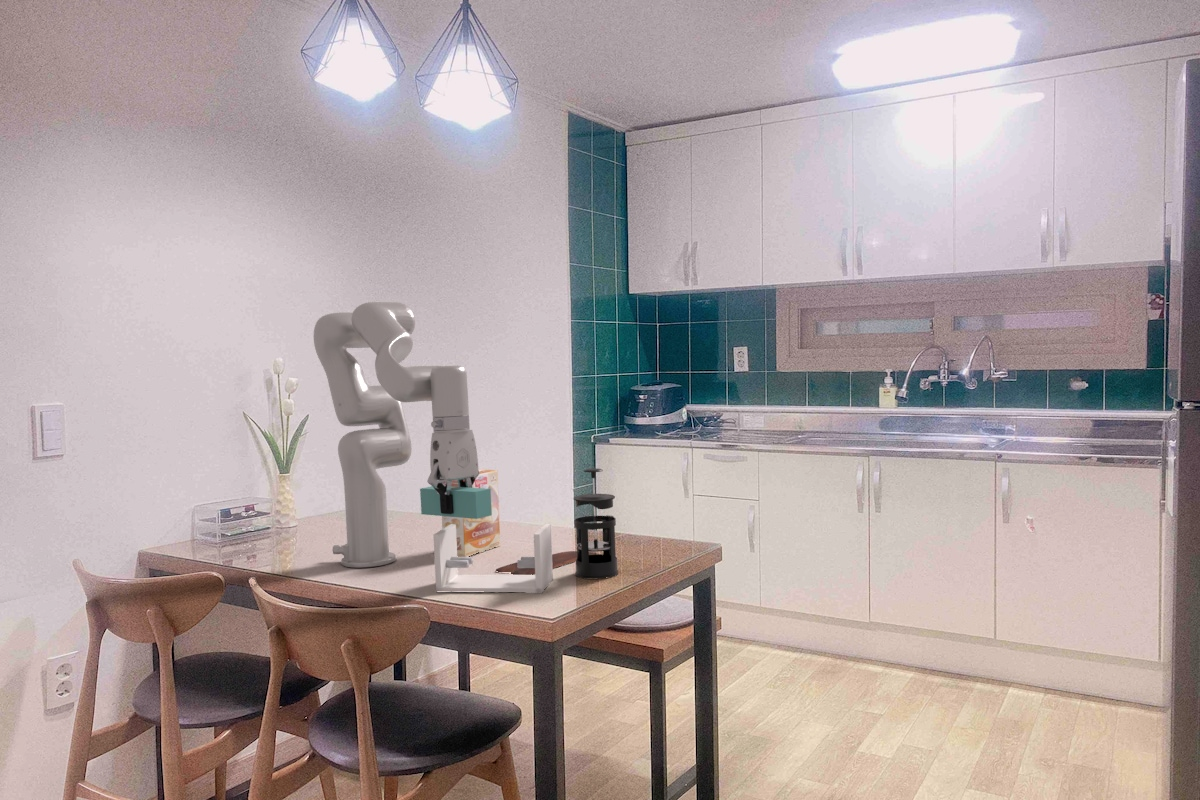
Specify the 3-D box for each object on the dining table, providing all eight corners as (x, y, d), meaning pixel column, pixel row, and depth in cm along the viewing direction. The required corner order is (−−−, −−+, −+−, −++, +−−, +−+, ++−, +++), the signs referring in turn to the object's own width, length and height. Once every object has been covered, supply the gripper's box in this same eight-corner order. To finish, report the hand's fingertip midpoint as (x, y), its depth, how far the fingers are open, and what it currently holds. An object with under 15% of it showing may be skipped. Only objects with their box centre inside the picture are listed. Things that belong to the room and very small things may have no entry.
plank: (491, 515, 186) (490, 488, 186) (476, 518, 183) (475, 491, 183) (436, 510, 196) (435, 485, 195) (421, 514, 192) (420, 488, 192)
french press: (602, 581, 189) (598, 472, 188) (565, 577, 194) (561, 471, 193) (630, 569, 199) (626, 465, 198) (594, 565, 204) (590, 464, 203)
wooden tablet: (571, 545, 221) (602, 545, 215) (572, 554, 221) (603, 554, 215) (491, 568, 201) (522, 569, 195) (492, 578, 201) (523, 579, 195)
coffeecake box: (465, 558, 215) (462, 477, 214) (442, 556, 219) (438, 476, 218) (501, 546, 228) (498, 469, 227) (479, 544, 232) (476, 468, 231)
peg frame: (436, 592, 185) (433, 534, 184) (452, 579, 196) (450, 524, 195) (541, 593, 182) (539, 534, 181) (553, 579, 192) (550, 523, 192)
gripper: (434, 428, 179) (440, 519, 180) (491, 421, 193) (496, 506, 194) (408, 428, 184) (413, 517, 184) (466, 421, 198) (470, 504, 198)
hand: (456, 510), depth 189 cm, fingers closed on plank, 4 cm apart
